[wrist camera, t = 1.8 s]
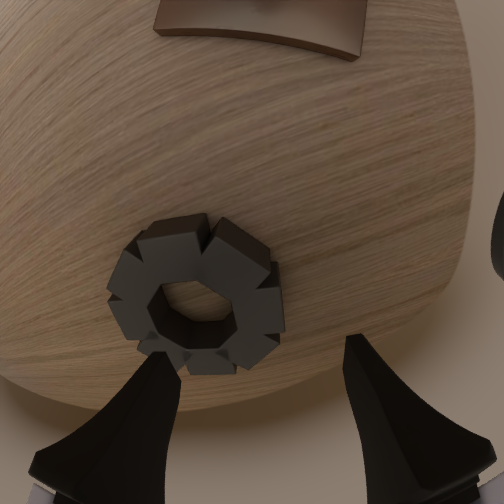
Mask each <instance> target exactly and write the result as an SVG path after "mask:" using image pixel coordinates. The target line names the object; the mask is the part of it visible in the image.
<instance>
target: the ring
mask: <svg viewBox="0 0 504 504" xmlns="http://www.w3.org/2000/svg"><path fill="white" fill-rule="evenodd" d="M187 281H198V282H200V283H201V284H203V285H205V286H206V287H208V288H210V289H211V290H213V291H214V292H216V293H218V294H219V295H221V296H223V297H224V298H226V299H228V300H229V301H231V305H232V309H233V311H232V312H231V313H230V314H229V315H228V316H227V317H226V318H225V319H224V320H223V321H214V322H198V323H194V322H193V321H191V320H189V319H188V318H186V317H184V316H182V315H181V314H179V313H177V312H176V311H174V310H172V309H171V308H169V306H168V303H167V301H166V298H165V295H164V293H163V290H162V287H161V284H167V283H177V282H187ZM106 289H107V290H109V291H110V292H112V293H113V294H112V295H111V297H110V298H109V300H108V301H107V302H108V304H109V306H110V308H111V311H112V313H113V315H114V317H115V319H116V320H117V322H118V324H119V326H120V328H121V330H122V332H123V334H124V336H125V338H126V339H127V340H140V343H139V345H138V347H137V350H138V351H140V352H141V353H143V354H145V355H147V356H149V355H150V354H151V353H152V352H153V351H166V353H167V355H168V357H169V359H170V361H171V363H172V365H173V367H174V369H175V370H176V371H177V372H178V371H179V370H180V369H181V367H182V366H183V365H184V364H186V366H187V369H188V371H189V373H190V375H226V374H236V369H237V365H238V366H240V367H243V368H245V369H247V370H249V369H250V368H252V367H253V366H254V365H255V364H257V363H258V362H259V361H260V360H261V359H263V358H264V357H265V356H266V355H268V354H269V353H270V352H271V351H272V350H274V349H275V348H276V347H277V346H278V345H279V344H280V333H284V332H285V321H284V311H283V301H282V292H281V284H280V275H279V267H278V262H271V263H270V250H269V248H268V247H266V246H265V245H263V244H262V243H261V242H259V241H258V240H256V239H255V238H253V237H252V236H250V235H249V234H247V233H246V232H245V231H243V230H242V229H240V228H239V227H237V226H236V225H234V224H233V223H231V222H230V221H228V220H227V219H226V218H224V217H222V218H221V220H220V221H219V222H218V224H217V225H216V226H215V228H214V229H213V231H212V232H211V233H210V229H209V225H208V220H207V216H206V214H205V213H203V214H196V215H190V216H184V217H178V218H172V219H166V220H161V221H155V222H153V223H152V224H151V225H150V226H149V227H148V229H147V230H146V231H143V230H142V231H141V232H140V233H139V234H138V235H137V236H136V237H135V238H134V239H133V240H132V241H131V242H130V243H129V244H128V245H127V246H126V248H125V249H124V250H123V252H122V254H121V256H120V258H119V260H118V263H117V265H116V267H115V269H114V271H113V274H112V276H111V278H110V280H109V283H108V285H107V288H106Z"/></svg>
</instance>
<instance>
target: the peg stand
mask: <svg viewBox="0 0 504 504" xmlns="http://www.w3.org/2000/svg"><path fill="white" fill-rule="evenodd" d="M366 8H367V0H161V1H160V4H159V8H158V11H157V15H156V19H155V23H154V27H153V30H154V31H155V32H157V33H158V34H159V35H161V36H183V35H189V36H219V37H232V38H242V39H251V40H259V41H266V42H272V43H278V44H284V45H289V46H294V47H299V48H303V49H308V50H312V51H316V52H320V53H324V54H328V55H331V56H335V57H338V58H342V59H345V60H348V61H354V60H356V59H358V58H359V57H360V56H361V49H362V42H363V34H364V26H365V17H366Z"/></svg>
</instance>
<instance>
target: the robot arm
mask: <svg viewBox="0 0 504 504" xmlns="http://www.w3.org/2000/svg"><path fill="white" fill-rule="evenodd" d="M343 374H344V379H345V385H346V390H347V394H348V397H349V400H350V404H351V407H352V411H353V414H354V417H355V420H356V424H357V428H358V431H359V435H360V439H361V443H362V451H363V458H364V465H365V474H366V486H367V504H504V472H502V473H500V474H499V475H497V476H496V477H494V478H493V479H491V480H490V481H488V482H487V483H485V484H483V485H481V486H480V487H477V483H478V482H479V481H480V479H479V476H478V474H479V473H481V472H482V471H484V470H485V469H487V468H488V467H489V466H491V465H492V464H493V463H494V462H496V460H497V457H496V454H495V451H494V448H493V446H492V444H491V442H490V440H488V439H486V438H484V437H481V436H479V435H477V434H475V433H473V432H470V431H468V430H467V429H465V428H463V427H461V426H459V425H458V424H456V423H454V422H453V421H451V420H450V419H448V418H446V417H445V416H444V415H442V414H441V413H439V412H438V411H436V410H435V409H434V408H433V407H431V406H430V405H429V404H427V403H426V402H425V401H424V400H423V399H421V398H420V397H419V396H418V395H417V394H416V393H415V392H413V391H412V390H411V389H410V388H409V387H408V386H407V385H406V384H405V383H404V382H403V381H402V380H401V379H400V378H399V377H398V376H397V375H396V374H395V372H394V371H393V370H392V369H391V368H390V367H389V366H388V365H387V364H386V363H385V361H384V360H383V359H382V358H381V357H380V355H379V354H378V353H377V352H376V351H375V349H374V348H373V347H372V346H371V344H370V343H369V342H368V340H367V339H366V338H365V337H364V335H363V334H361V333H360V334H355V335H349V336H346V343H345V352H344V361H343ZM180 389H181V380H180V378H179V376H178V374H177V372H176V370H175V369H174V367H173V365H172V363H171V361H170V359H169V357H168V355H167V353H166V351H153V352H152V353H151V354H150V355H149V356H148V358H147V359H146V360H145V361H144V362H143V364H142V365H141V366H140V367H139V369H138V370H137V371H136V372H135V373H134V375H133V376H132V377H131V378H130V379H129V381H128V382H127V383H126V384H125V385H124V386H123V388H122V389H121V390H120V391H119V392H118V393H117V394H116V395H115V396H114V397H113V398H112V399H111V400H110V402H109V403H108V404H107V405H106V406H105V407H104V408H103V409H102V410H100V412H98V413H97V414H96V415H95V416H94V417H93V418H92V419H90V420H89V421H88V422H86V423H85V424H84V425H83V426H81V427H80V428H78V429H77V430H76V431H75V432H73V433H71V434H70V435H68V436H67V437H65V438H63V439H62V440H60V441H58V442H57V443H55V444H53V445H51V446H49V447H46V448H44V449H42V450H40V451H37V452H36V453H35V456H34V458H33V461H32V463H31V466H30V469H29V471H28V473H29V475H31V476H32V477H34V478H35V479H37V480H38V481H40V482H42V483H43V484H45V485H47V486H48V487H50V488H52V489H53V490H55V491H56V494H55V495H54V494H53V493H51V492H49V491H47V490H46V489H44V488H42V487H40V486H39V485H37V484H35V483H34V484H33V486H32V489H31V492H30V495H29V498H28V502H27V504H165V469H166V459H167V450H168V445H169V441H170V436H171V433H172V429H173V425H174V421H175V416H176V412H177V408H178V404H179V398H180Z"/></svg>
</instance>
